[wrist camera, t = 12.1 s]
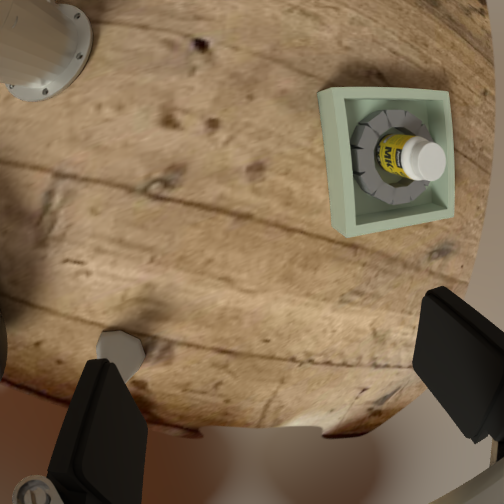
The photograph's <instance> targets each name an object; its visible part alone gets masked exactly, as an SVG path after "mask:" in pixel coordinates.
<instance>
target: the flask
mask: <svg viewBox="0 0 504 504" xmlns="http://www.w3.org/2000/svg"><path fill="white" fill-rule="evenodd" d="M96 352H97V359H102V358H106V359H108V360H109V361H110V363H111V362H113V363H115V365H116V366H117V368H118V370H119V372H120V374H121V376H122V378H123V380H124V382H125V383H126V382H127V381H128V380H129V379H130V378H131V377H132V376H133V375H134V374H135V373H136V372H137V371H138V370H139V368H140V366H141V364H142V362H143V360H144V358H145V357H146V356H145V353H144V350H143V347H142V344H141V341H140V339H137V338H135V337H133V336H131V335H129V334H127V333H125V332H123V331H110V332H101V335H100V337H99V340H98V343H97V345H96Z"/></svg>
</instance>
